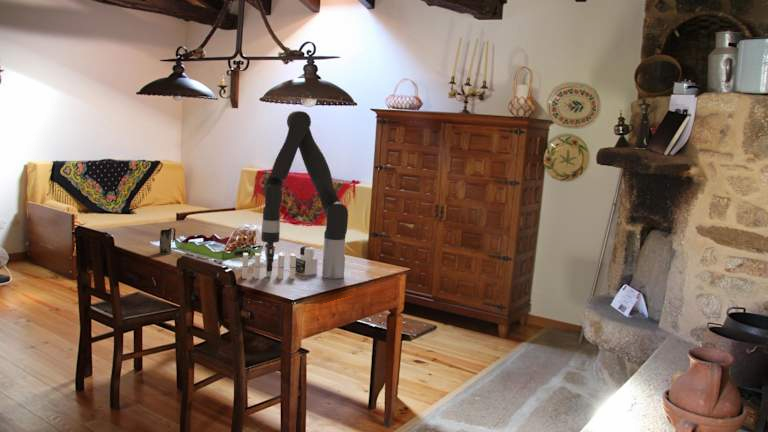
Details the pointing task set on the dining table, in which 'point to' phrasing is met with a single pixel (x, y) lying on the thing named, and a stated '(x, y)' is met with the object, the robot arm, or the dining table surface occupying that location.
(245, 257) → the domino
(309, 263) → the medicine bottle
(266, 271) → the domino
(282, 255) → the domino
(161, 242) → the mug
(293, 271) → the domino
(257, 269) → the domino
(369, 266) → the dining table surface
